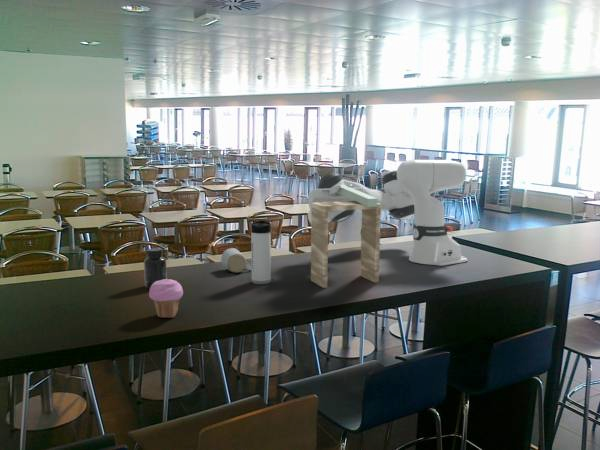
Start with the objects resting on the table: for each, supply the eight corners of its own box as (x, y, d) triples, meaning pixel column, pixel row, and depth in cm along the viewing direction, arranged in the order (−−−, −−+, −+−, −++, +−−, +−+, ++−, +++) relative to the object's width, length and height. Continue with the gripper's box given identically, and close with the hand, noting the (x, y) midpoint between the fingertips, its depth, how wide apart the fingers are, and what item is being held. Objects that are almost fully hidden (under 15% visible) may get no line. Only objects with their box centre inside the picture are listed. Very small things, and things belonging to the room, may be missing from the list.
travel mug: (272, 279, 185) (272, 220, 182) (269, 284, 178) (268, 223, 175) (253, 279, 185) (253, 220, 182) (250, 284, 179) (249, 223, 176)
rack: (364, 275, 191) (366, 200, 187) (378, 282, 182) (380, 203, 178) (310, 280, 184) (311, 202, 180) (323, 287, 175) (324, 205, 171)
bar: (343, 191, 195) (344, 184, 194) (376, 206, 173) (377, 198, 173) (335, 192, 194) (335, 185, 193) (367, 206, 172) (368, 198, 172)
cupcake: (181, 321, 142) (180, 283, 141) (147, 321, 142) (145, 283, 140) (185, 310, 151) (184, 274, 150) (153, 311, 150) (152, 275, 149)
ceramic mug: (227, 274, 191) (227, 252, 190) (220, 269, 198) (220, 248, 197) (256, 272, 195) (256, 251, 194) (248, 267, 203) (249, 246, 202)
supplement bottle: (160, 282, 180) (158, 246, 178) (171, 286, 175) (170, 249, 173) (140, 286, 175) (139, 249, 173) (151, 290, 170) (150, 252, 169)
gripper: (357, 209, 205) (374, 194, 193) (306, 212, 197) (320, 196, 185) (354, 194, 207) (370, 177, 195) (303, 196, 199) (316, 179, 187)
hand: (345, 186), depth 190 cm, fingers closed on bar, 3 cm apart
